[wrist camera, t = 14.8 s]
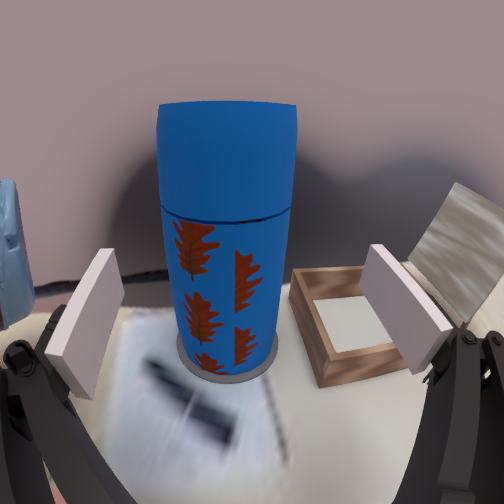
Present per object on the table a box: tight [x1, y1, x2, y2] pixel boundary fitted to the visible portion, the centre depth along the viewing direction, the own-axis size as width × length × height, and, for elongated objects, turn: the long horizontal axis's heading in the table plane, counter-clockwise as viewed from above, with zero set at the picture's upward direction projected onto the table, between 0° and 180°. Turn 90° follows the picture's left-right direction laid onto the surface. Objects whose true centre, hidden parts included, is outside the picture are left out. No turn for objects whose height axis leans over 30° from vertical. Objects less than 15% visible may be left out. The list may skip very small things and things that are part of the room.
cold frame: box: [289, 182, 504, 388], centre depth 29 cm, size 26×16×20 cm, turn 97°
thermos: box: [156, 101, 297, 375], centre depth 25 cm, size 11×11×25 cm
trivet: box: [177, 331, 278, 384], centre depth 31 cm, size 12×12×1 cm
